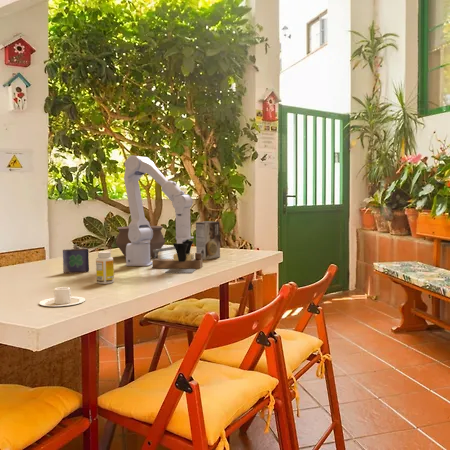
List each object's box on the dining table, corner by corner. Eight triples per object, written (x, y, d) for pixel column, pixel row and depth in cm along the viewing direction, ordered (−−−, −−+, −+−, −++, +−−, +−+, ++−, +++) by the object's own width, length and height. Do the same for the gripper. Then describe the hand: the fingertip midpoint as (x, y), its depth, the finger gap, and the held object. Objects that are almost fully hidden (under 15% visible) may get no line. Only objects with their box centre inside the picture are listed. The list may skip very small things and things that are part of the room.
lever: (156, 258, 194) (156, 249, 194) (152, 258, 196) (151, 249, 195) (180, 254, 207) (180, 246, 207) (176, 254, 208) (176, 245, 208)
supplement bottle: (115, 281, 167) (114, 250, 166) (112, 284, 161) (112, 252, 160) (98, 281, 166) (97, 251, 165) (95, 284, 161) (94, 253, 160)
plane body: (152, 267, 194) (152, 253, 194) (155, 266, 198) (155, 252, 198) (200, 268, 192) (200, 253, 191) (202, 266, 196) (202, 252, 196)
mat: (165, 273, 181) (165, 272, 181) (170, 269, 189) (170, 268, 189) (191, 273, 180) (191, 272, 180) (196, 269, 188) (196, 269, 188)
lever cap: (173, 260, 192) (173, 254, 192) (176, 258, 197) (176, 253, 197) (191, 260, 192) (191, 254, 191) (193, 258, 196) (193, 253, 196)
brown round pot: (157, 260, 215) (156, 222, 214) (105, 260, 219) (104, 223, 218) (173, 253, 239) (172, 219, 237) (125, 253, 243) (124, 219, 242)
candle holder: (34, 302, 137) (34, 287, 137) (78, 297, 143) (78, 282, 143) (44, 311, 127) (43, 294, 127) (91, 305, 133) (90, 289, 133)
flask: (63, 273, 183) (62, 244, 182) (63, 272, 186) (62, 244, 185) (89, 272, 186) (88, 243, 185) (88, 271, 189) (88, 243, 188)
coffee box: (210, 256, 227) (210, 221, 226) (220, 257, 223) (220, 221, 222) (195, 258, 221) (195, 222, 220) (205, 259, 216) (205, 222, 215)
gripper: (189, 226, 186) (190, 262, 187) (196, 224, 200) (197, 257, 201) (171, 226, 187) (171, 262, 188) (179, 224, 201) (180, 257, 202)
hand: (183, 260), depth 194 cm, fingers open, 7 cm apart
